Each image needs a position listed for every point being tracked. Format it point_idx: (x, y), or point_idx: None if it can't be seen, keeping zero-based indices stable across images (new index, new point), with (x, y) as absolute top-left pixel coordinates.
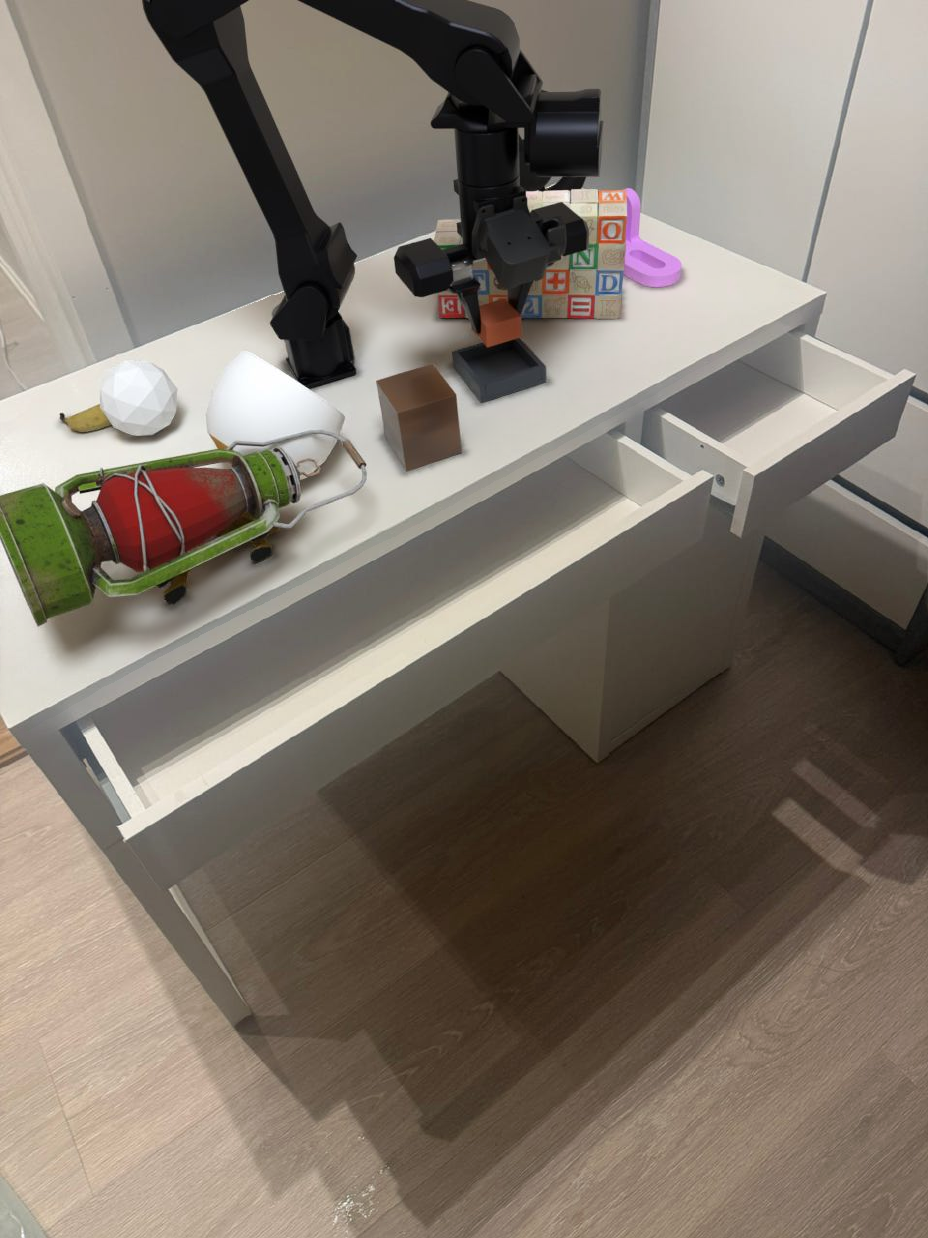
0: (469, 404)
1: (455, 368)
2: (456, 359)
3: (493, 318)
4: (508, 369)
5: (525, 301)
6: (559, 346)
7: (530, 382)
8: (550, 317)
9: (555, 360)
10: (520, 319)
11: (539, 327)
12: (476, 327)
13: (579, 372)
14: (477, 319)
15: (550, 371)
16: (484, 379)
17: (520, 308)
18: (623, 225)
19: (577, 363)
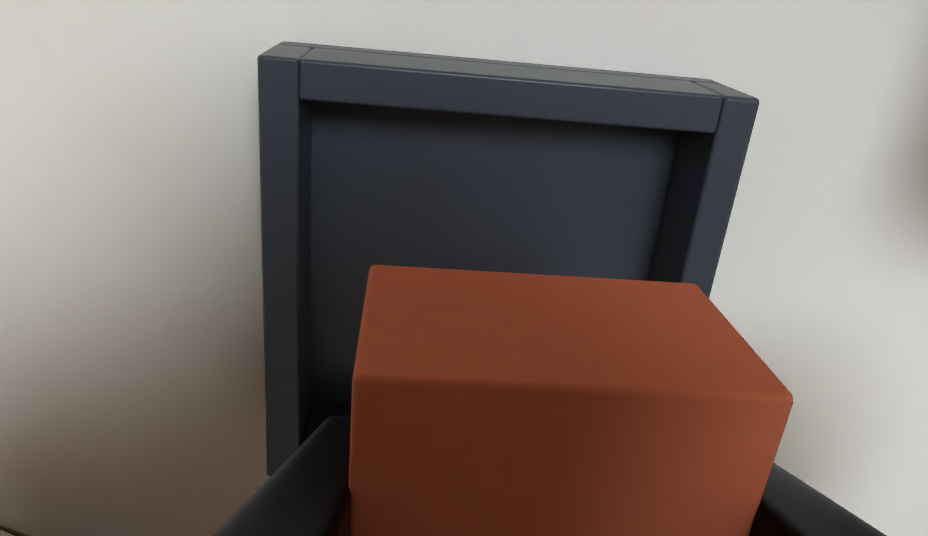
0: (765, 109)
1: None
2: None
3: (641, 475)
4: (430, 251)
5: (215, 534)
6: (54, 308)
7: (390, 54)
8: (2, 531)
9: (131, 207)
10: (369, 353)
11: (91, 494)
12: (774, 467)
13: (36, 11)
14: (825, 518)
15: (206, 127)
16: (591, 242)
17: (295, 489)
18: None
19: (12, 106)
